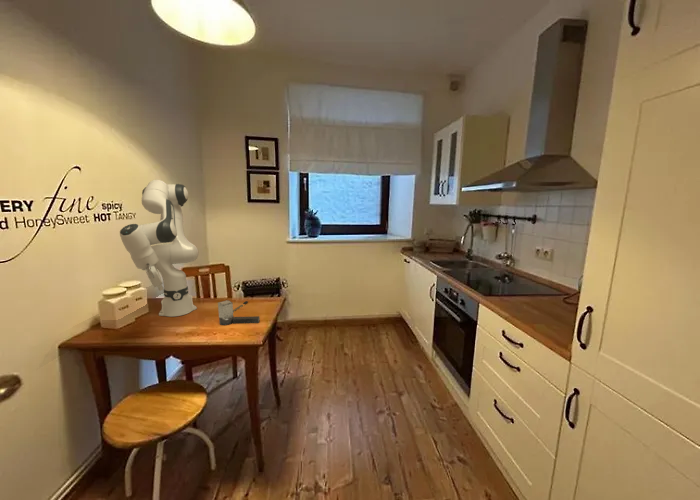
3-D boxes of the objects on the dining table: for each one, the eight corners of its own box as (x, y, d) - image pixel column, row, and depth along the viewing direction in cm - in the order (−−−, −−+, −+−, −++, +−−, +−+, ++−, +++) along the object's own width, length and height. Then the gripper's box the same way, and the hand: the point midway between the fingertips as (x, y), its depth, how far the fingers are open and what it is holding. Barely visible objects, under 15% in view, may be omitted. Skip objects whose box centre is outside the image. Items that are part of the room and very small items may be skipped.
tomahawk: (234, 318, 169) (234, 316, 168) (223, 316, 170) (223, 314, 170) (255, 304, 189) (255, 302, 188) (245, 302, 190) (245, 300, 190)
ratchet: (217, 325, 157) (216, 313, 155) (222, 320, 164) (221, 308, 162) (257, 324, 158) (256, 312, 156) (260, 319, 164) (259, 307, 163)
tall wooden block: (219, 317, 159) (217, 302, 158) (228, 314, 163) (227, 300, 162) (223, 320, 156) (222, 305, 155) (233, 317, 160) (232, 302, 158)
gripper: (157, 266, 129) (171, 291, 137) (150, 249, 144) (163, 273, 151) (141, 272, 126) (155, 298, 134) (135, 254, 141) (149, 279, 148)
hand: (159, 285), depth 142 cm, fingers open, 8 cm apart
